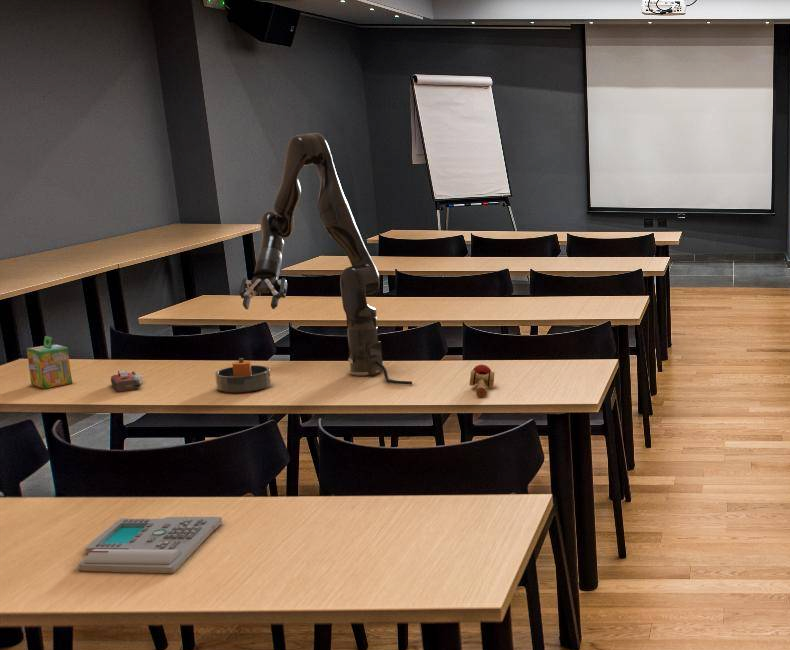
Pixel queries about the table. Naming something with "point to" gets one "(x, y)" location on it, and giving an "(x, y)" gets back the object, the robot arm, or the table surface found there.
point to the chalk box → (49, 365)
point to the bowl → (243, 380)
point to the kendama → (482, 379)
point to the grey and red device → (126, 381)
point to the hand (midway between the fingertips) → (259, 307)
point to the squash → (241, 368)
